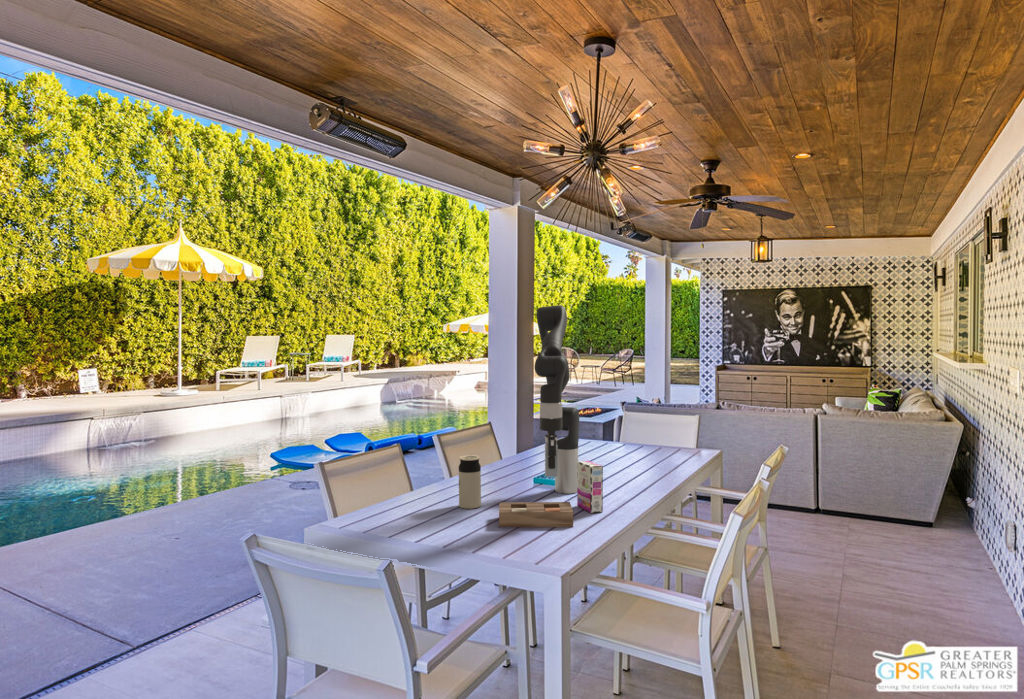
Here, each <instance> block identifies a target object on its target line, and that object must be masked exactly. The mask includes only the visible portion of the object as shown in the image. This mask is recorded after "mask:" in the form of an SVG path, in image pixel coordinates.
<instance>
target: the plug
mask: <svg viewBox="0 0 1024 699" xmlns="http://www.w3.org/2000/svg"><path fill="white" fill-rule="evenodd" d="M550 453H554V450H551V451H550ZM544 476H545V477H555V476H558V446H557V449H556V457H555V468H554V469H549V468H548V450H547V449H546V443H545V444H544Z"/></svg>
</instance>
